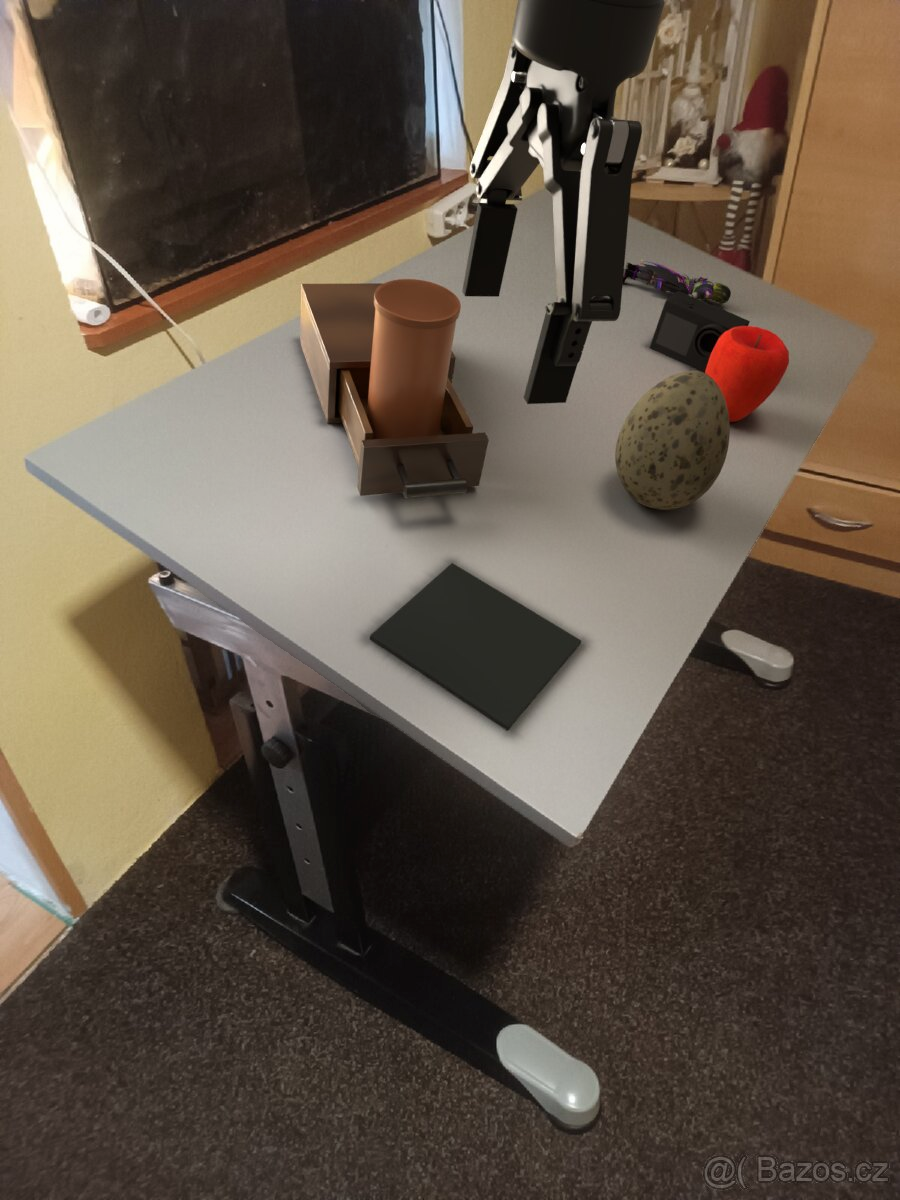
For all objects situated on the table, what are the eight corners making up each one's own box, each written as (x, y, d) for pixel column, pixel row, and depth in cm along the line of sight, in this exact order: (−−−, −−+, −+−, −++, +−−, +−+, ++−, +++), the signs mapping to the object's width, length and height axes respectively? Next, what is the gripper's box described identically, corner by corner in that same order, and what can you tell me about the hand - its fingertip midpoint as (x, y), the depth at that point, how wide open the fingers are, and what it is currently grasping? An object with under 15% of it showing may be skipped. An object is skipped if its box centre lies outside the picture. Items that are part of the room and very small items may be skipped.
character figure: (615, 294, 122) (723, 321, 120) (621, 269, 119) (732, 296, 117) (626, 270, 128) (729, 295, 126) (632, 246, 126) (737, 271, 123)
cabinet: (446, 417, 94) (456, 357, 88) (327, 424, 89) (329, 362, 84) (408, 340, 104) (415, 282, 98) (300, 343, 100) (301, 283, 94)
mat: (369, 639, 70) (369, 635, 69) (451, 567, 77) (452, 562, 77) (507, 731, 65) (508, 727, 65) (579, 644, 73) (581, 640, 72)
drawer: (492, 513, 82) (503, 466, 78) (369, 524, 78) (374, 476, 74) (436, 399, 94) (443, 354, 90) (328, 405, 90) (330, 357, 86)
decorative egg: (655, 458, 94) (702, 338, 83) (720, 517, 88) (780, 396, 77) (581, 480, 89) (621, 355, 78) (645, 543, 83) (698, 418, 72)
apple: (758, 443, 99) (798, 363, 91) (687, 423, 100) (720, 342, 92) (759, 406, 105) (797, 328, 97) (692, 387, 106) (724, 308, 98)
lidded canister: (356, 448, 84) (366, 310, 73) (372, 405, 90) (383, 271, 79) (433, 464, 84) (454, 328, 73) (444, 420, 90) (465, 288, 79)
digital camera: (644, 351, 111) (661, 302, 106) (660, 337, 114) (677, 289, 109) (714, 383, 108) (735, 334, 102) (729, 368, 111) (750, 320, 106)
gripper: (787, 58, 36) (632, 451, 51) (572, -74, 51) (502, 258, 67) (635, 41, 34) (520, 458, 49) (458, -92, 49) (413, 256, 64)
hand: (510, 343), depth 58 cm, fingers open, 13 cm apart
